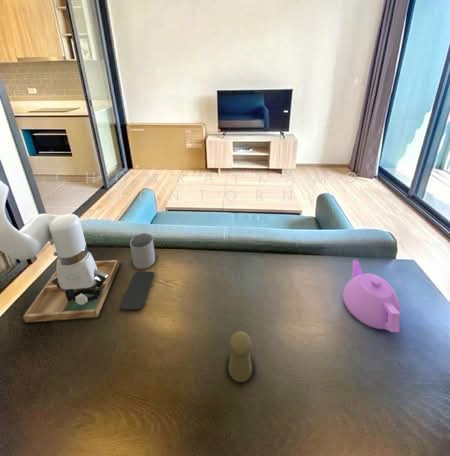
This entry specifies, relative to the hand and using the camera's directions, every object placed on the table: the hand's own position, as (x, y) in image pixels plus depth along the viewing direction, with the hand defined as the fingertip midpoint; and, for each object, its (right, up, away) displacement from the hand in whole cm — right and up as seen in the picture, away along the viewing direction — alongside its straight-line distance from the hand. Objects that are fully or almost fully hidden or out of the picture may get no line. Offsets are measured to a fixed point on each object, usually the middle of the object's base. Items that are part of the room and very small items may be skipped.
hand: (85, 296), depth 81 cm
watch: (0, -1, 0) cm, 1 cm away
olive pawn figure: (+50, -9, -17) cm, 53 cm away
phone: (+16, -1, +5) cm, 16 cm away
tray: (-5, -1, +5) cm, 8 cm away
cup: (+14, +4, +18) cm, 23 cm away
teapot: (+91, -3, -2) cm, 91 cm away
